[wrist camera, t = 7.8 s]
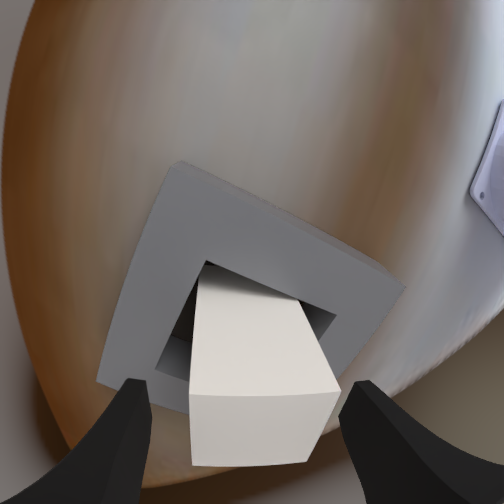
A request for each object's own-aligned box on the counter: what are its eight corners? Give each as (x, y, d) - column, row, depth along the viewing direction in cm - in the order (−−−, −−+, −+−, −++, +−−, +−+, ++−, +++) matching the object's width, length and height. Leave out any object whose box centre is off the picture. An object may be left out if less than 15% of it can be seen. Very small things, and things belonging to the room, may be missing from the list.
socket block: (376, 261, 15) (406, 286, 12) (275, 400, 18) (283, 435, 15) (181, 160, 12) (170, 166, 9) (110, 345, 15) (95, 381, 12)
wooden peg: (283, 270, 15) (341, 391, 7) (271, 336, 16) (306, 461, 9) (200, 264, 14) (188, 394, 7) (197, 333, 15) (192, 465, 8)
